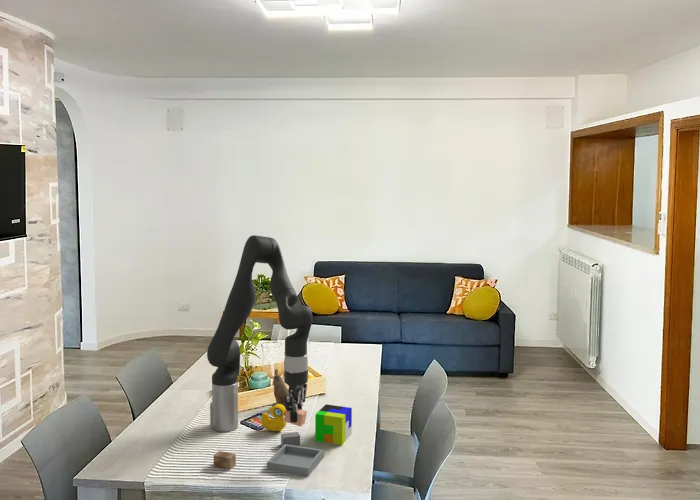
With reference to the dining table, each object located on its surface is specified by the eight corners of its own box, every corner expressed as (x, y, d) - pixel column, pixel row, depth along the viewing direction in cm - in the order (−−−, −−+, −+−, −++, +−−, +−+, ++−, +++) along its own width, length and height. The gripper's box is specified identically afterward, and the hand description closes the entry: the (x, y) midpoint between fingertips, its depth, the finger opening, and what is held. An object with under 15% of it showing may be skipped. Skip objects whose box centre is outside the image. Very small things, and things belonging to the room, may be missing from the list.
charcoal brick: (283, 449, 215) (282, 437, 215) (281, 444, 219) (280, 433, 218) (300, 446, 217) (300, 435, 217) (297, 442, 220) (297, 431, 220)
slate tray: (267, 469, 200) (267, 461, 200) (284, 451, 213) (284, 444, 213) (308, 476, 196) (308, 468, 195) (323, 457, 209) (323, 449, 209)
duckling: (293, 428, 232) (293, 402, 231) (290, 434, 227) (290, 407, 226) (263, 426, 234) (263, 400, 233) (259, 432, 228) (259, 406, 227)
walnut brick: (213, 467, 202) (213, 455, 201) (219, 462, 205) (219, 450, 204) (230, 470, 200) (230, 458, 199) (235, 465, 203) (235, 453, 202)
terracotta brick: (283, 421, 202) (285, 409, 201) (287, 417, 205) (289, 405, 205) (300, 426, 201) (302, 415, 200) (304, 422, 204) (306, 411, 203)
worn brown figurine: (271, 416, 250) (261, 373, 248) (274, 411, 256) (265, 368, 254) (299, 412, 248) (290, 368, 246) (302, 407, 254) (293, 364, 252)
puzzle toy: (351, 434, 228) (351, 407, 227) (342, 445, 218) (342, 417, 217) (325, 430, 231) (325, 404, 230) (315, 441, 222) (315, 414, 220)
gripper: (293, 360, 208) (293, 410, 211) (276, 373, 195) (276, 426, 197) (314, 362, 206) (314, 413, 208) (298, 375, 193) (298, 429, 195)
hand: (296, 419), depth 203 cm, fingers closed on terracotta brick, 3 cm apart
